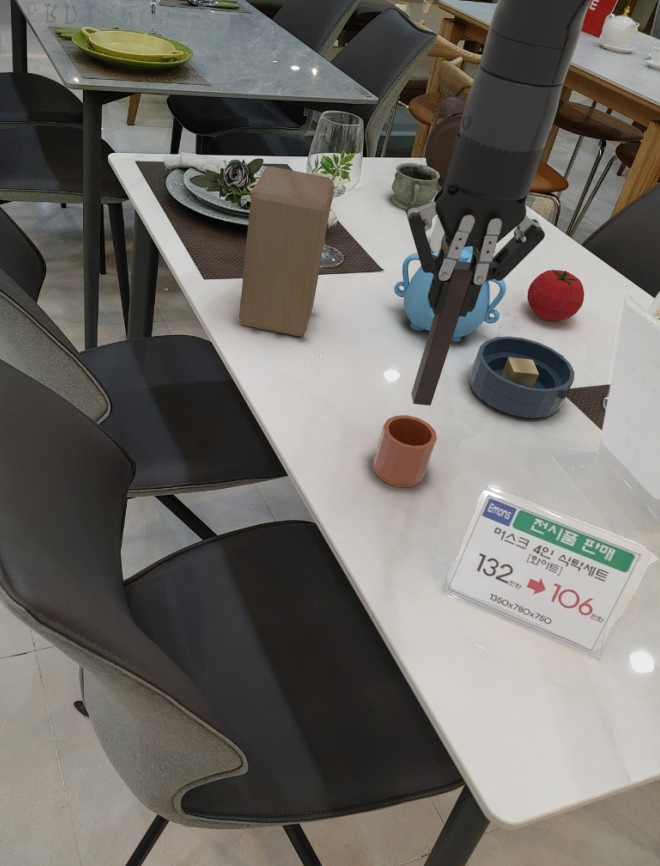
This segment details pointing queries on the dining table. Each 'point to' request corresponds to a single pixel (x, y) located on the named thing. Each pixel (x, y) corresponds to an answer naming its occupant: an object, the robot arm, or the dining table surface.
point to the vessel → (414, 185)
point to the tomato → (555, 295)
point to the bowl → (515, 397)
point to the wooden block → (284, 249)
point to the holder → (404, 450)
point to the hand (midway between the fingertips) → (447, 310)
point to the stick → (441, 335)
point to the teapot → (422, 312)
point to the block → (520, 371)
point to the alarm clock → (445, 134)
